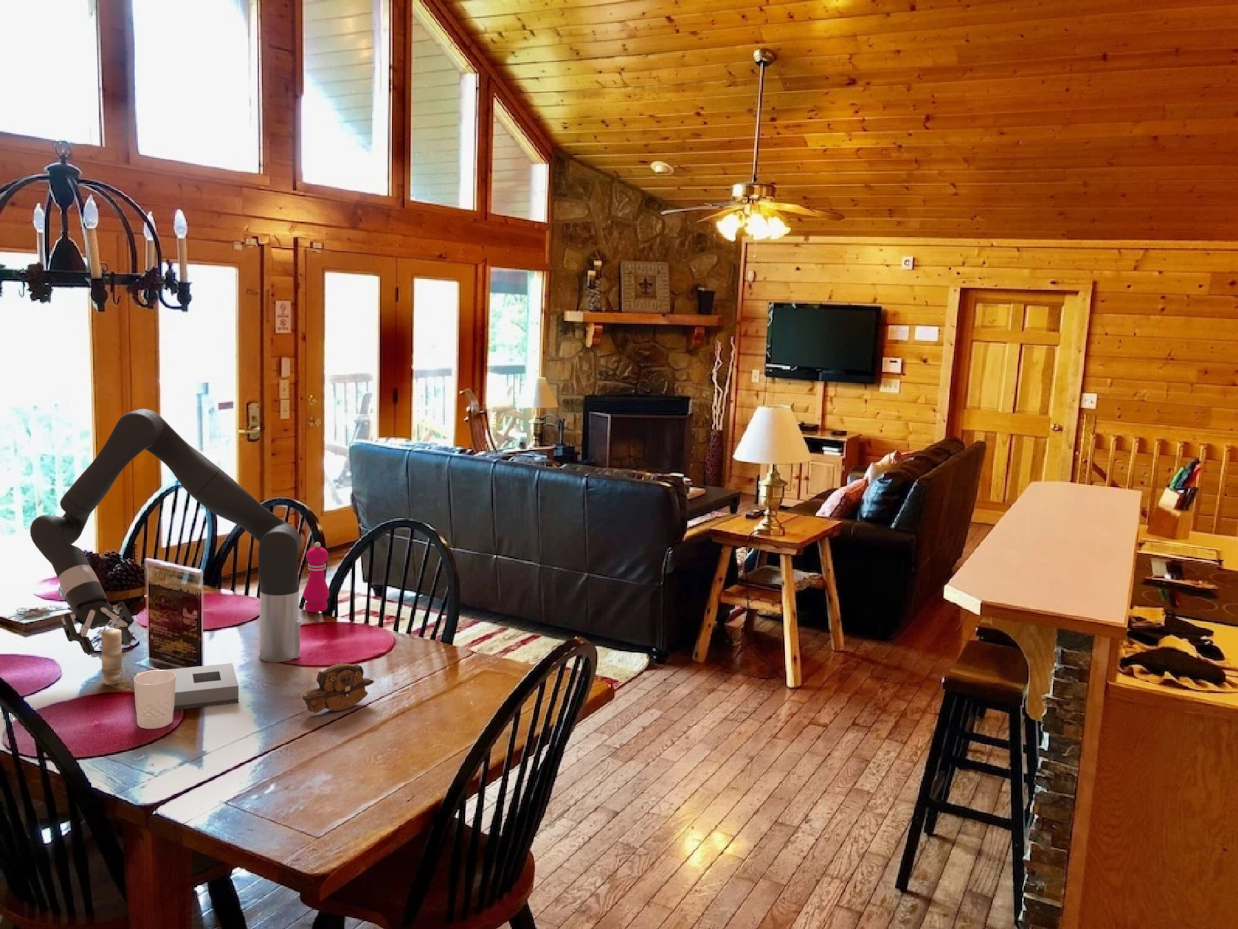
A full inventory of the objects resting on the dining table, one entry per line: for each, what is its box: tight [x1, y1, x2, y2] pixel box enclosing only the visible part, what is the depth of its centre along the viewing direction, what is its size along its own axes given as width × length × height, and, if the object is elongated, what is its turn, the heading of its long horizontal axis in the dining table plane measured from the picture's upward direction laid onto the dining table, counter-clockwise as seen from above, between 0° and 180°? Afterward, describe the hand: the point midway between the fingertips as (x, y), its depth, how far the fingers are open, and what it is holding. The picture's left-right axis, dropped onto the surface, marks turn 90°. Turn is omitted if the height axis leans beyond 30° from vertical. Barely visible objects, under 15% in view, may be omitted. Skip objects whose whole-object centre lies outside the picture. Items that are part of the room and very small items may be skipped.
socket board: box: [136, 662, 240, 711], centre depth 214 cm, size 20×14×4 cm
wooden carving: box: [302, 663, 374, 714], centre depth 212 cm, size 16×5×10 cm, turn 140°
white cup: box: [133, 669, 176, 730], centre depth 200 cm, size 8×8×10 cm
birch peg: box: [100, 628, 123, 686], centre depth 218 cm, size 4×4×12 cm
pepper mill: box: [302, 541, 330, 613], centre depth 277 cm, size 7×7×20 cm
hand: (110, 648), depth 218 cm, fingers open, 8 cm apart
